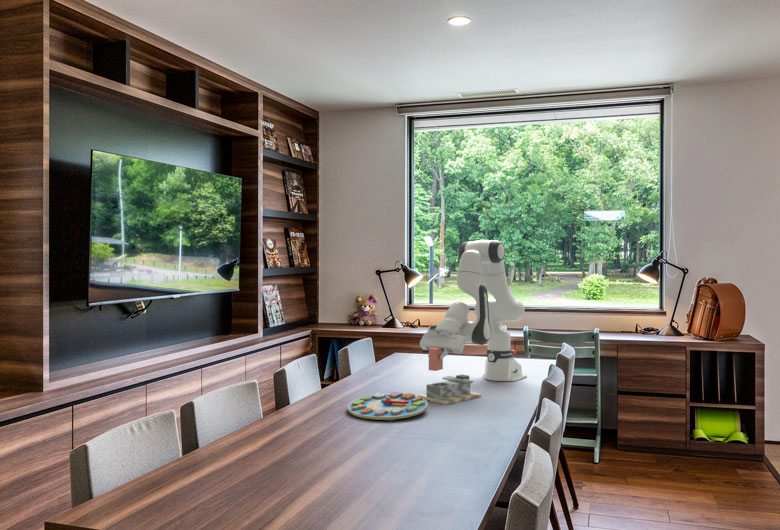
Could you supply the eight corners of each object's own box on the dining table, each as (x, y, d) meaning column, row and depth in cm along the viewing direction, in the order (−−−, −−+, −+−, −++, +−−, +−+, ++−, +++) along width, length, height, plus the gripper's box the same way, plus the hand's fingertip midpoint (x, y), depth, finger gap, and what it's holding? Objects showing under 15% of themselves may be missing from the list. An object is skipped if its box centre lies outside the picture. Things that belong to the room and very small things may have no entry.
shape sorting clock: (331, 412, 241) (331, 397, 241) (385, 399, 263) (386, 385, 263) (390, 427, 220) (390, 410, 220) (444, 412, 242) (444, 396, 242)
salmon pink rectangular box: (435, 368, 267) (435, 346, 267) (442, 369, 265) (442, 347, 265) (428, 370, 262) (428, 348, 262) (435, 370, 260) (435, 349, 260)
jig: (453, 390, 280) (453, 372, 280) (481, 396, 268) (481, 377, 268) (418, 397, 265) (418, 378, 265) (446, 404, 253) (446, 384, 253)
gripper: (471, 339, 266) (459, 365, 258) (431, 335, 279) (418, 360, 271) (466, 329, 262) (453, 356, 255) (425, 326, 275) (412, 351, 267)
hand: (435, 358), depth 263 cm, fingers closed on salmon pink rectangular box, 4 cm apart
